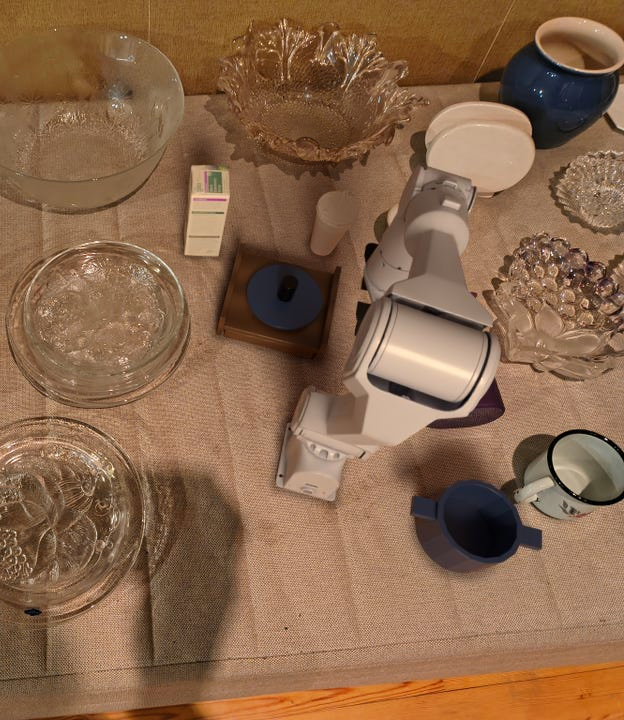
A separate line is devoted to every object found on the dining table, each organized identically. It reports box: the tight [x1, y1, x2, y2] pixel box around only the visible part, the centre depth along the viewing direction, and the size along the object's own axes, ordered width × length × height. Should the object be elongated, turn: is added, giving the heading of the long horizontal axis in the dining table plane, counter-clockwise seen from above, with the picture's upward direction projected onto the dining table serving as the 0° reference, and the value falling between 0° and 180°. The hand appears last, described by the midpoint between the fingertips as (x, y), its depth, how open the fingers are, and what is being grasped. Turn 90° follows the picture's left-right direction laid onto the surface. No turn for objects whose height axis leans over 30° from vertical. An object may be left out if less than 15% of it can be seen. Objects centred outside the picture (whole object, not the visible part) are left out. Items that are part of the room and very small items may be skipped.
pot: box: [409, 478, 543, 574], centre depth 84 cm, size 10×16×7 cm, turn 74°
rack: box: [215, 241, 342, 362], centre depth 99 cm, size 14×16×5 cm
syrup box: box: [183, 164, 231, 257], centre depth 101 cm, size 6×6×14 cm
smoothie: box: [309, 188, 361, 257], centre depth 101 cm, size 6×6×14 cm
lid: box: [247, 265, 322, 330], centre depth 97 cm, size 11×11×5 cm
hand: (365, 312), depth 90 cm, fingers open, 7 cm apart
